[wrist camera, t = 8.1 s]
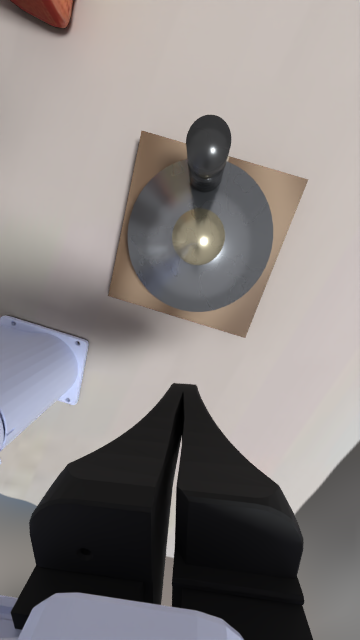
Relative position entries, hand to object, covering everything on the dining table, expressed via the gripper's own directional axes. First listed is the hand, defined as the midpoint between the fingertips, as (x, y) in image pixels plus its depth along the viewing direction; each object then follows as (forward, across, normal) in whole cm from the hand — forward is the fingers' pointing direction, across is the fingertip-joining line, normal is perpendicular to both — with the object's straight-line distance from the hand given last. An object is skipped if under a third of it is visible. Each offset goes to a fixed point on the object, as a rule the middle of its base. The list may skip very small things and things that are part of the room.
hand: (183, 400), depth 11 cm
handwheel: (+8, 0, -9) cm, 12 cm away
